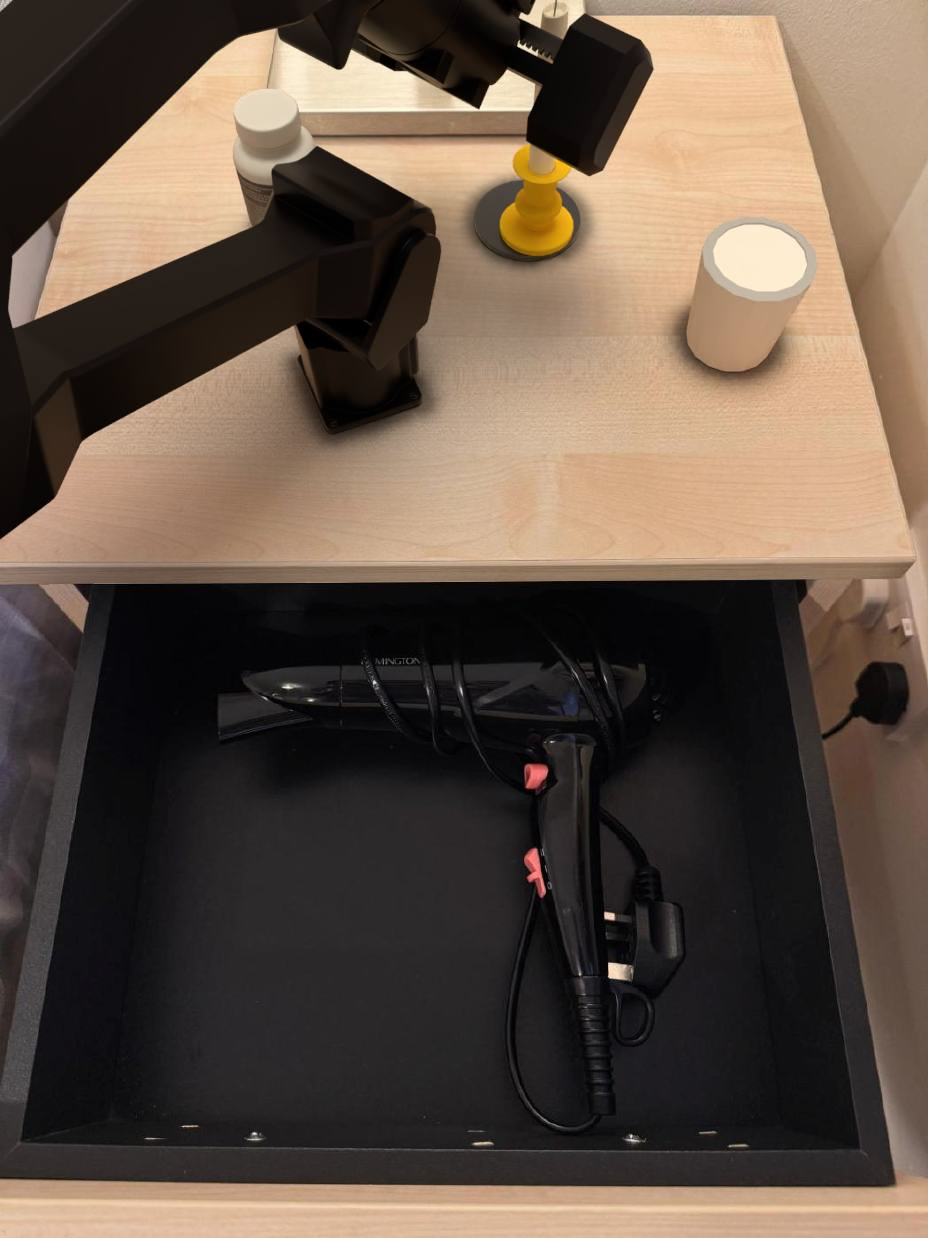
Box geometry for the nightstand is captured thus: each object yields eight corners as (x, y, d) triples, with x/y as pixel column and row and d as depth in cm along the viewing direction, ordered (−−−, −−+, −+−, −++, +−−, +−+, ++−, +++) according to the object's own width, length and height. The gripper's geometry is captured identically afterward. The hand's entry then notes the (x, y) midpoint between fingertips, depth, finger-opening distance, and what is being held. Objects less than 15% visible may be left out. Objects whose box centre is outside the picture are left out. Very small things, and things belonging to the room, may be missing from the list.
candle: (495, 252, 61) (504, 23, 47) (503, 199, 63) (514, -35, 49) (569, 259, 61) (601, 31, 47) (575, 206, 63) (607, -28, 49)
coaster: (499, 273, 61) (499, 268, 61) (458, 201, 64) (458, 196, 64) (597, 242, 62) (598, 237, 62) (552, 172, 65) (553, 168, 65)
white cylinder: (777, 387, 57) (816, 308, 51) (671, 370, 58) (697, 290, 51) (783, 307, 60) (820, 223, 53) (682, 292, 60) (707, 207, 54)
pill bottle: (311, 273, 61) (285, 147, 52) (242, 253, 62) (204, 125, 53) (343, 221, 63) (323, 90, 54) (275, 202, 64) (245, 70, 55)
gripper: (676, -150, 35) (740, 7, 48) (324, -293, 39) (473, -113, 53) (541, 139, 39) (634, 208, 53) (240, -20, 44) (397, 81, 58)
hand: (534, 90), depth 54 cm, fingers open, 9 cm apart
